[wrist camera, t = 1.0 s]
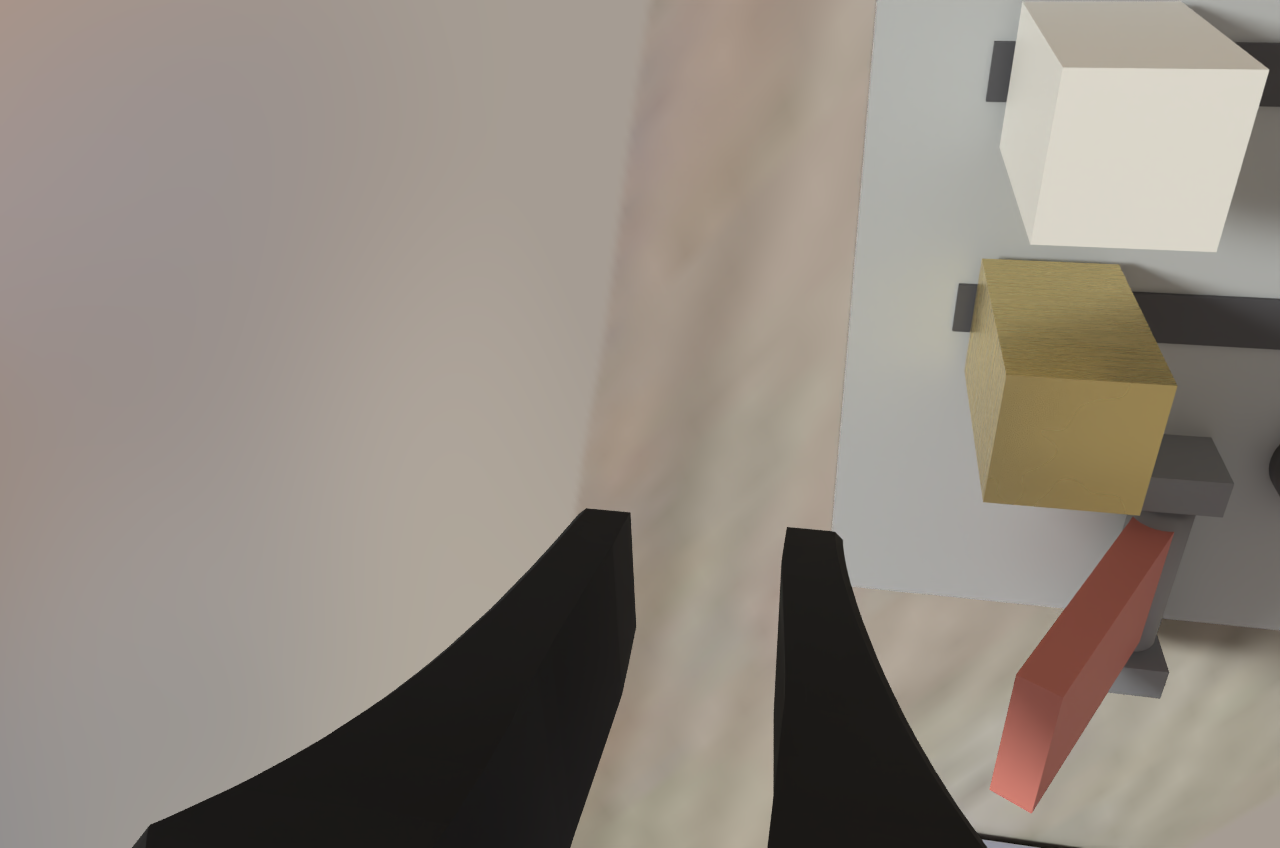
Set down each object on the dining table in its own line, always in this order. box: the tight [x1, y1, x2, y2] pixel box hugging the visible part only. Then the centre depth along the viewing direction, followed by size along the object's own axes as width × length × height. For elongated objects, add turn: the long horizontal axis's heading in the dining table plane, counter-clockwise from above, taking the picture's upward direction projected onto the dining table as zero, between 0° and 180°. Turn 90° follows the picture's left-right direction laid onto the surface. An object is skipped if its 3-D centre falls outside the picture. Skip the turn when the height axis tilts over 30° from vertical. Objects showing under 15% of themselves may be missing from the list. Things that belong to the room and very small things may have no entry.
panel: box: [832, 0, 1280, 698], centre depth 20 cm, size 15×11×3 cm
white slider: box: [999, 1, 1269, 252], centre depth 15 cm, size 2×2×4 cm
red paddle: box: [990, 511, 1196, 813], centre depth 20 cm, size 4×1×7 cm, turn 2°
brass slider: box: [964, 259, 1177, 516], centre depth 18 cm, size 2×2×4 cm
